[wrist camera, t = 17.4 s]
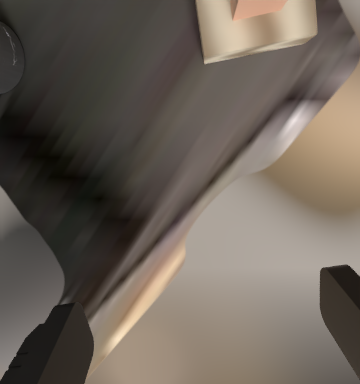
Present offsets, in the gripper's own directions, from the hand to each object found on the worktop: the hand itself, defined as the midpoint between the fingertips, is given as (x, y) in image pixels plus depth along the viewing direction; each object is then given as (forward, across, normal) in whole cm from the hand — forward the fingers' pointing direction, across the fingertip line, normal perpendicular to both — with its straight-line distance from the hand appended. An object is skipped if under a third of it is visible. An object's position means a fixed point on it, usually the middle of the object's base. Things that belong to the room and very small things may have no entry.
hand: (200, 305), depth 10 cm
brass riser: (+31, -10, -14) cm, 36 cm away
